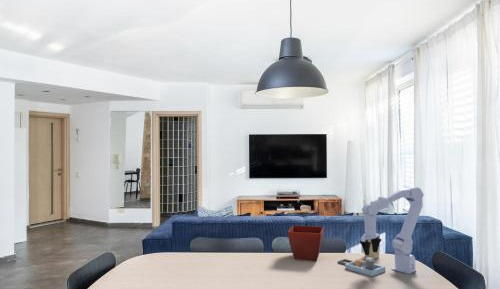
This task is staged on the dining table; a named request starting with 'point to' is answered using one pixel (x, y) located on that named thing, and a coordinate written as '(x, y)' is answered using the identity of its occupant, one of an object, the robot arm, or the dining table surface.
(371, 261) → the shaker
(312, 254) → the plant pot
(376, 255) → the coffee cup
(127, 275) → the dining table surface
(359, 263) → the ball
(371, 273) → the tray
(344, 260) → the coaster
